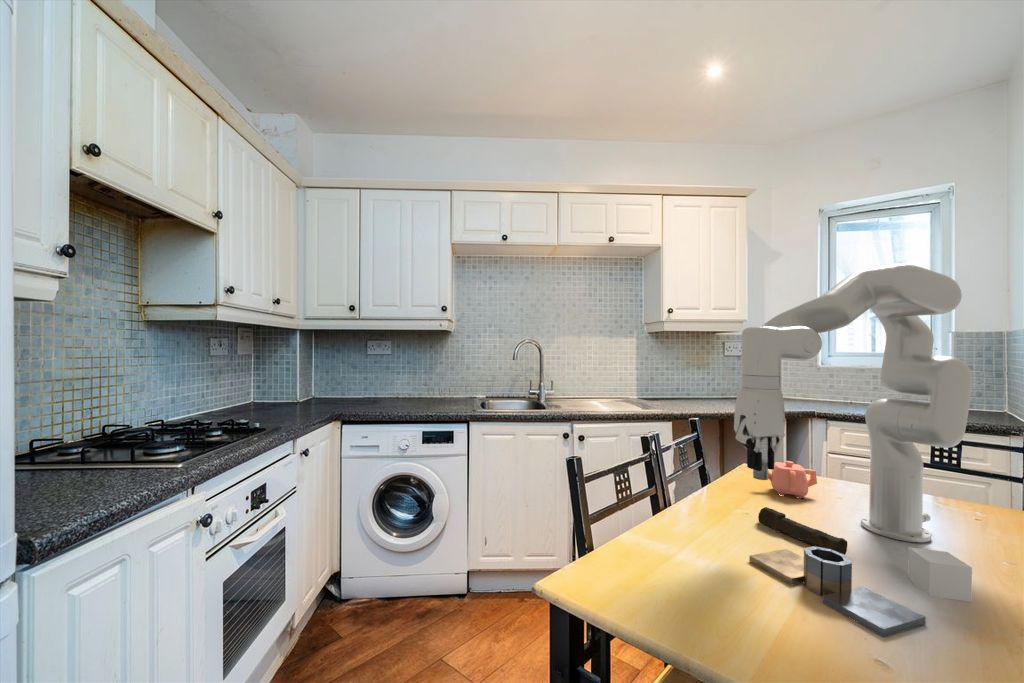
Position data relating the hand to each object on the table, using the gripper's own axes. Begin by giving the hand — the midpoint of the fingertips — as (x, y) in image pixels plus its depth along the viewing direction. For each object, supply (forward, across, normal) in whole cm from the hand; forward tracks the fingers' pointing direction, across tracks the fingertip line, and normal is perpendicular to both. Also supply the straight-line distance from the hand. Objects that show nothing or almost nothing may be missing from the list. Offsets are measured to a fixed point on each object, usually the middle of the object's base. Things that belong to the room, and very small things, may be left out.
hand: (760, 467), depth 93 cm
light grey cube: (+18, -17, +22) cm, 33 cm away
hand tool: (+18, -12, -1) cm, 22 cm away
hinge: (+17, +3, +16) cm, 24 cm away
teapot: (+18, -39, -25) cm, 50 cm away
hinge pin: (+2, 0, 0) cm, 2 cm away
